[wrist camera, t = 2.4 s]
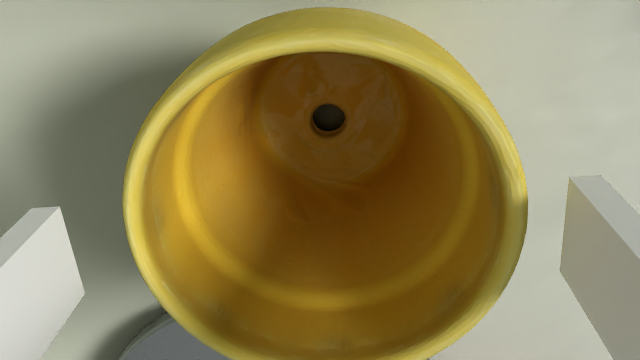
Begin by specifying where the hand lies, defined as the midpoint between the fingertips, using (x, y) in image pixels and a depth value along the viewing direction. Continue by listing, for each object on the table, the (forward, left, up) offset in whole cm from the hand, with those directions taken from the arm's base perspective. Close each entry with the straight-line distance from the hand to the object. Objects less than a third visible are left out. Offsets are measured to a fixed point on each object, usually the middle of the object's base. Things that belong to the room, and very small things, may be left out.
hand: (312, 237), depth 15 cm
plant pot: (0, 0, -10) cm, 10 cm away
